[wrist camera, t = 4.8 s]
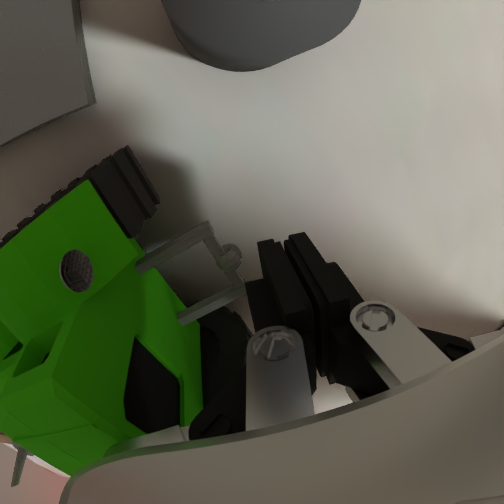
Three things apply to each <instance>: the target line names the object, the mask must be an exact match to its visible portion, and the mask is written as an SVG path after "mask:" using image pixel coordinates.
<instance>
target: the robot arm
mask: <svg viewBox="0 0 504 504" xmlns="http://www.w3.org/2000/svg"><path fill="white" fill-rule="evenodd" d="M257 244H258V251H259V256H260V262H261V268H262V274H263V279H258V280H254V281H249V282H245V288H246V293H247V297H248V302H249V307H250V311H251V315H252V320H253V324H254V328H255V332H256V333H255V334H254V335H253V336H252V337H251V338H250V340H249V341H248V345H247V363H246V364H245V365H244V366H243V367H242V368H241V369H240V370H239V371H238V373H237V374H236V375H235V376H234V377H233V378H232V379H231V380H230V381H229V382H228V383H227V384H226V385H225V386H224V388H223V389H222V390H221V391H220V392H219V393H218V394H217V395H216V396H215V397H214V398H213V399H212V400H211V401H210V402H209V403H208V404H207V405H206V406H205V407H204V408H203V409H202V410H201V411H200V413H199V414H198V415H197V416H196V417H195V418H194V419H193V421H192V422H191V424H190V425H187V426H184V427H180V426H179V425H176V426H173V427H170V428H167V429H164V430H160V431H157V432H154V433H150V434H147V435H143V436H140V437H136V438H133V439H129V440H125V441H121V442H118V443H116V444H114V445H112V446H110V447H109V448H108V449H107V450H106V452H105V454H104V456H103V458H102V459H99V460H97V461H95V462H92V463H90V464H88V465H86V466H84V467H83V468H81V469H80V470H78V471H77V472H76V473H74V474H73V475H72V476H71V477H70V479H69V480H68V482H67V483H66V485H65V487H64V489H63V492H62V494H61V497H60V501H59V504H504V326H503V327H502V328H501V329H500V330H498V331H494V332H490V333H486V334H482V335H478V336H474V337H470V338H469V341H467V340H465V339H462V338H460V337H456V336H452V335H448V334H443V333H439V332H435V331H431V330H427V329H423V328H419V327H416V326H415V325H414V324H413V323H412V322H411V321H410V320H409V319H407V318H406V317H405V316H404V315H403V314H402V313H401V312H400V311H399V310H398V309H397V308H396V307H394V306H393V305H391V304H390V303H387V302H384V301H378V300H372V301H366V302H364V300H363V299H362V297H361V296H360V295H359V293H358V292H357V290H356V289H355V288H354V286H353V285H352V283H351V282H350V281H349V279H348V278H347V277H346V275H345V274H344V273H343V271H342V270H341V268H340V267H339V266H338V264H337V263H336V262H331V263H326V262H325V260H324V259H323V257H322V256H321V254H320V253H319V252H318V250H317V249H316V247H315V246H314V245H313V243H312V242H311V240H310V239H309V238H308V236H307V235H306V233H305V232H302V233H297V234H292V235H289V239H288V240H284V249H285V251H284V249H283V247H282V245H281V243H280V241H279V242H274V240H273V239H269V240H265V241H260V242H257ZM316 367H317V370H318V372H319V374H320V376H321V377H324V376H326V377H327V379H328V382H329V384H333V383H338V384H341V385H344V386H345V389H346V392H347V394H348V396H349V397H350V398H351V400H352V401H353V403H351V404H348V405H345V406H342V407H338V408H335V409H332V410H329V411H325V412H322V413H319V414H314V407H313V401H312V395H313V393H314V392H315V390H316V378H317V371H316Z"/></svg>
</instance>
